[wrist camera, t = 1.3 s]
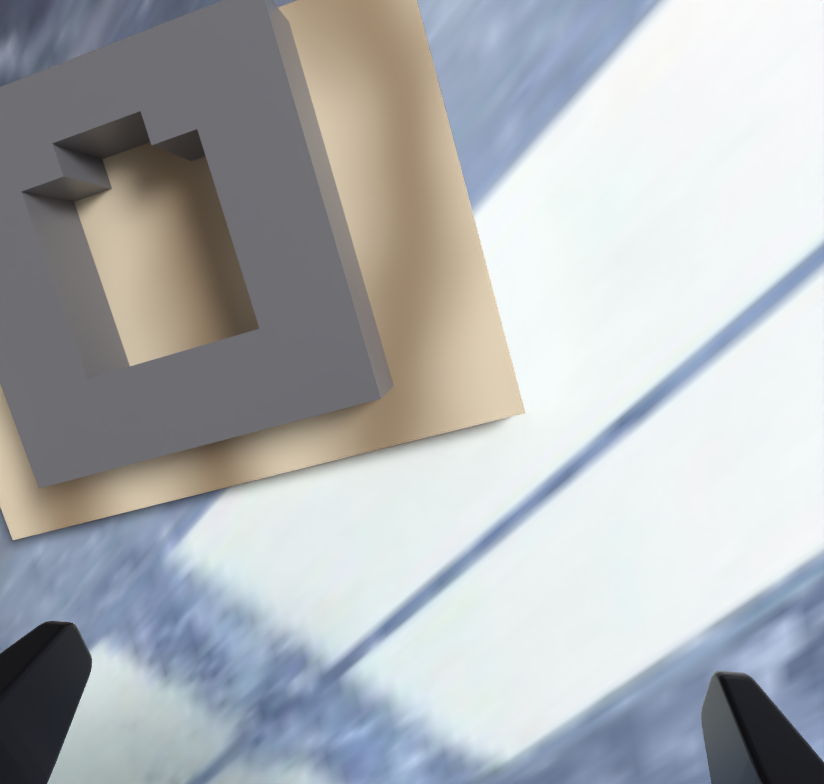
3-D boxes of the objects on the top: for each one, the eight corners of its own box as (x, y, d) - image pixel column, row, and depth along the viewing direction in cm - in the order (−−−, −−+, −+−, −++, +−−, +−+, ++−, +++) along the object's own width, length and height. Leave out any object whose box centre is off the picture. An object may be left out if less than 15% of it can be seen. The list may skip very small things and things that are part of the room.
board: (35, 528, 26) (12, 540, 25) (-99, 169, 24) (-130, 163, 23) (523, 406, 22) (525, 413, 21) (410, -23, 21) (405, -41, 19)
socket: (85, 467, 24) (38, 488, 21) (-30, 141, 22) (-95, 124, 20) (393, 385, 22) (381, 398, 19) (289, 21, 20) (260, -15, 18)
